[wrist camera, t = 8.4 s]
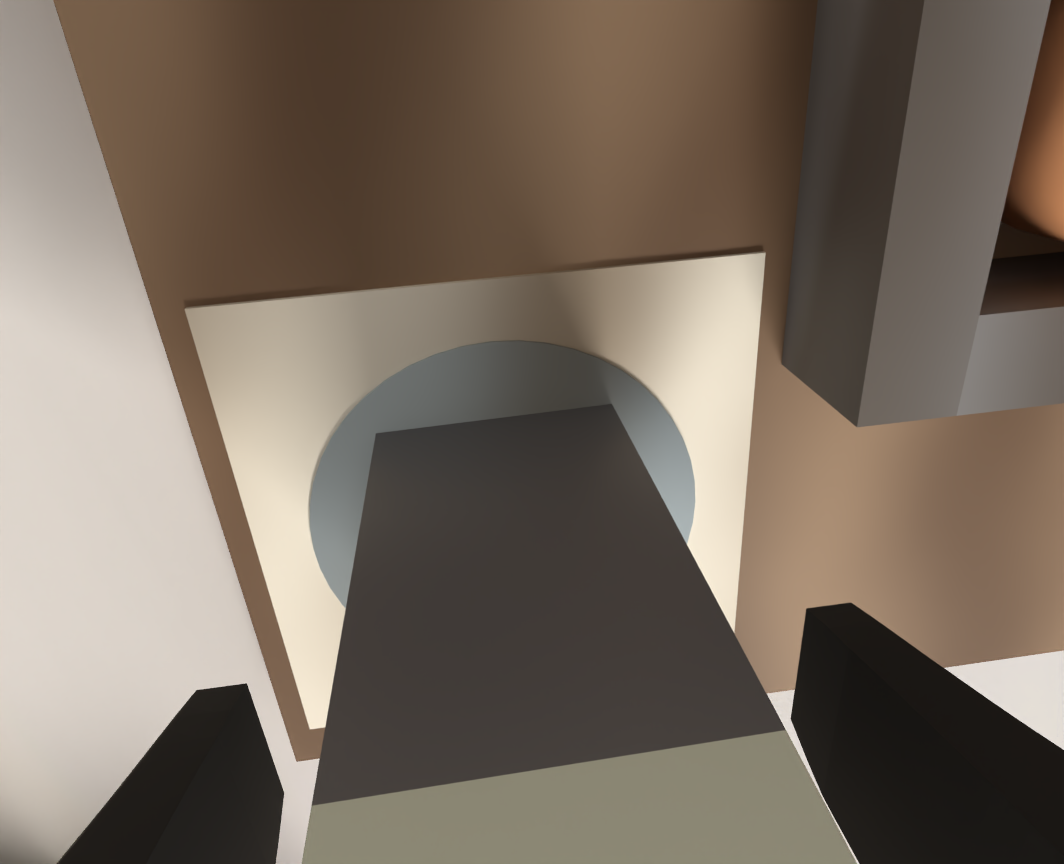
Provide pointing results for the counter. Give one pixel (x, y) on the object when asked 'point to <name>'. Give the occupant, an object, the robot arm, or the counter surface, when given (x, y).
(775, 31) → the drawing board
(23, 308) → the counter surface
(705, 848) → the grey rectangular block
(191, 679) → the counter surface
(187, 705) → the robot arm
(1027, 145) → the button
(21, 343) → the counter surface
